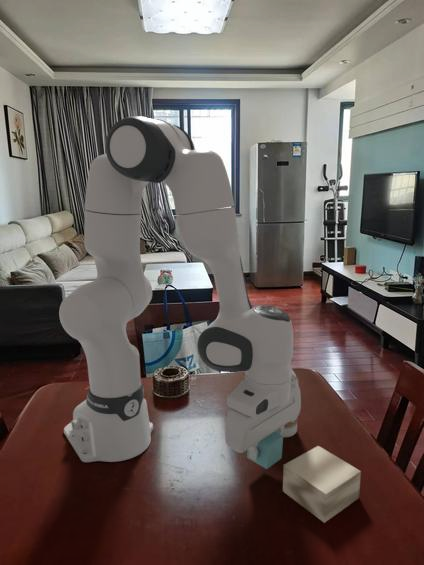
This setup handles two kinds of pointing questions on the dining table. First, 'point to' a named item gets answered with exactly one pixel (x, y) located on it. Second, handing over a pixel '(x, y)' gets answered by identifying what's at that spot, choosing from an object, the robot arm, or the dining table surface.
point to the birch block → (321, 482)
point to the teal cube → (269, 450)
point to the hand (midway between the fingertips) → (264, 450)
